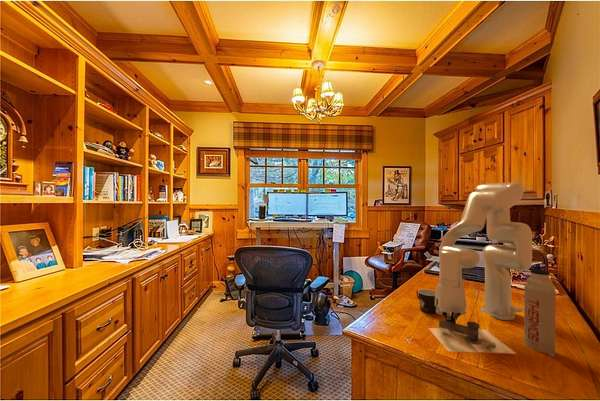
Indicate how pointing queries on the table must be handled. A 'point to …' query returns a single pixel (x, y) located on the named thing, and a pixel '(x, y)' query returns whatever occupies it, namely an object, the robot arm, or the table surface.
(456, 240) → the robot arm
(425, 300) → the coffee mug
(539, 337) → the thermos bottle
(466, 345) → the beige flat slab
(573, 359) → the table surface
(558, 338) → the table surface
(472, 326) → the grey door handle
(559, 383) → the table surface
